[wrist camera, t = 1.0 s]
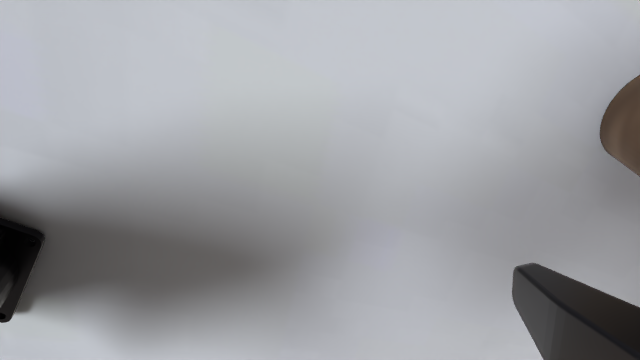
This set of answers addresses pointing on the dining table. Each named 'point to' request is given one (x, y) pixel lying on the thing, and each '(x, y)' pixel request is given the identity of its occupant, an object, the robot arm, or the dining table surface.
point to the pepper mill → (623, 126)
